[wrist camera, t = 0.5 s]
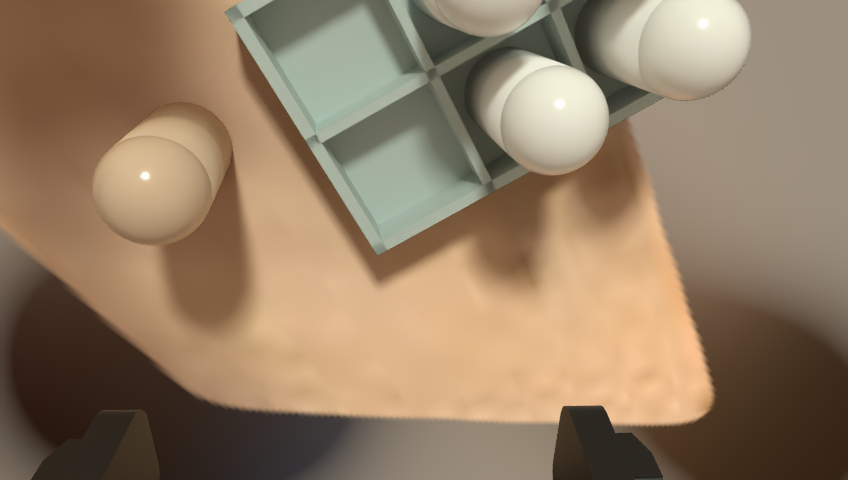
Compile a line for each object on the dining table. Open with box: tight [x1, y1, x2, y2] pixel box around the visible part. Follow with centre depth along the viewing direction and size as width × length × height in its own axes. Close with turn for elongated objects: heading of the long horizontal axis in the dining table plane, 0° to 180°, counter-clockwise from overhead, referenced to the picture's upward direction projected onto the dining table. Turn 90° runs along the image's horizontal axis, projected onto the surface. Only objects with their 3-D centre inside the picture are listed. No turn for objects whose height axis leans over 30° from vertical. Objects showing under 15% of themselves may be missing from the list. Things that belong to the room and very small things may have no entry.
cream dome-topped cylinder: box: [92, 103, 232, 246], centre depth 29 cm, size 5×5×10 cm
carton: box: [224, 0, 664, 256], centre depth 32 cm, size 14×20×3 cm
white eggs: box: [413, 0, 752, 175], centre depth 28 cm, size 11×11×10 cm
